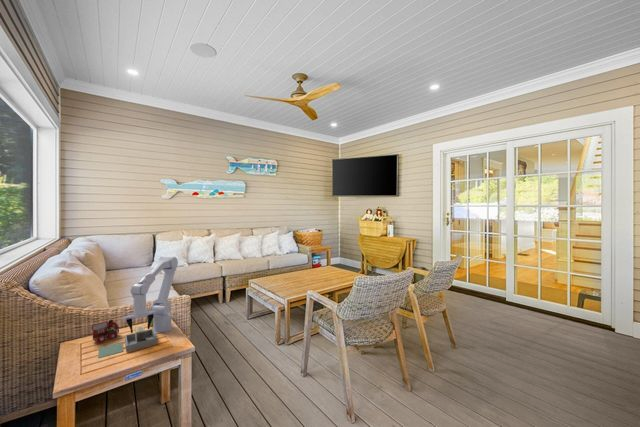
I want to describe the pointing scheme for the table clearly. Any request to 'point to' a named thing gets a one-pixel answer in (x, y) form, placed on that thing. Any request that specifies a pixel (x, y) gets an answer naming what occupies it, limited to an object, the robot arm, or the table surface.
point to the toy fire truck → (104, 331)
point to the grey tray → (150, 340)
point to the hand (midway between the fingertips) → (140, 330)
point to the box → (140, 334)
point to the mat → (110, 350)
